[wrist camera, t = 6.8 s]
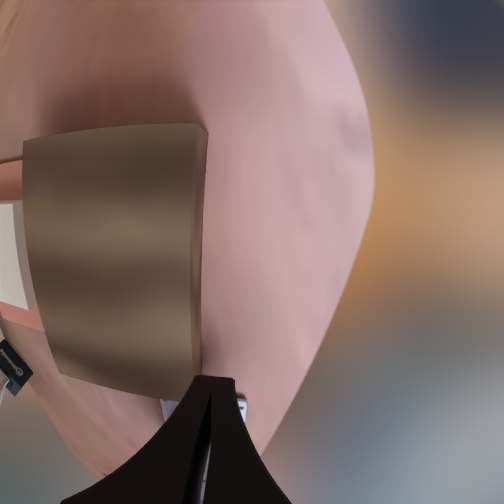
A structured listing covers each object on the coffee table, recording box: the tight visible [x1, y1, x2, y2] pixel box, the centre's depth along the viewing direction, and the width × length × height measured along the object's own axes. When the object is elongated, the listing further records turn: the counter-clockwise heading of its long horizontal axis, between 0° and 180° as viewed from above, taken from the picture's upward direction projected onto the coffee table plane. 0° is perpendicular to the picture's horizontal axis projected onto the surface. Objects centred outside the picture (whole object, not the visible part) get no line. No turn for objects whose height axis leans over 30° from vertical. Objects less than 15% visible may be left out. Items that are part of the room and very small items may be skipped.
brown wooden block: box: [22, 123, 208, 402], centre depth 17 cm, size 18×12×4 cm, turn 175°
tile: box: [0, 200, 37, 310], centre depth 17 cm, size 9×6×2 cm, turn 175°
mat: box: [0, 160, 45, 332], centre depth 18 cm, size 16×11×1 cm
